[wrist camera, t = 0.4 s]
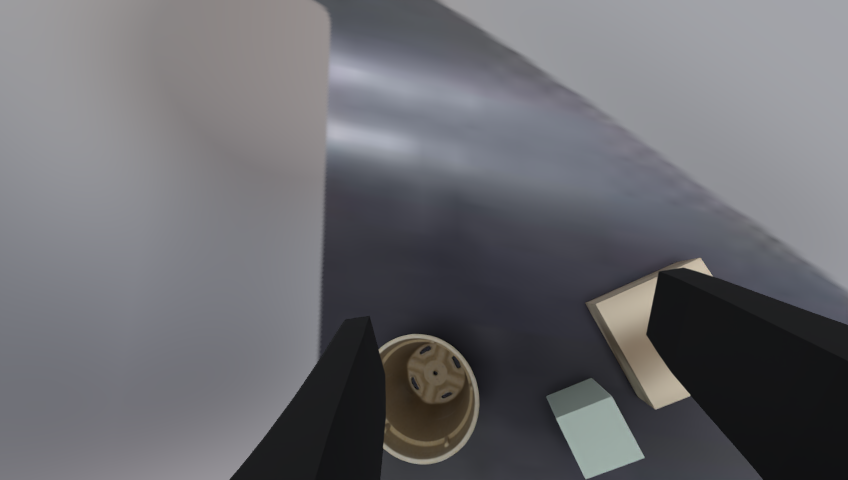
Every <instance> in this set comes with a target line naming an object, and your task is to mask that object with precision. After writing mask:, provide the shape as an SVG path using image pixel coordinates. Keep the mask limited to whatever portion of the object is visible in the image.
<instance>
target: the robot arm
mask: <svg viewBox="0 0 848 480" xmlns="http://www.w3.org/2000/svg"><path fill="white" fill-rule="evenodd" d="M646 335H647V337H648V339H649V340H650V342H651V343H652V345H653V346H654V348H655V349H656V351H657V353H658V354H659V356H660V357H661V358H662V360H663V361H664V363H665V364H666V366H667V367H668V369H669V370H670V371H671V373H672V374H673V375H674V376H675V377H676V379H677V380H678V381H679V382H680V383H681V385H682V386H683V387H684V388H685V389H686V390H687V392H688V393H689V394H690V395H691V396H692V397H693V399H694V400H695V401H696V402H697V403H698V404H699V406H700V407H701V408H702V409H703V410H704V411H705V412H706V414H707V415H708V416H709V417H710V418H711V419H712V420H713V422H714V423H715V424H716V425H717V426H718V427H719V428H720V430H721V431H722V432H723V433H724V434H725V435H726V436H727V438H728V439H729V440H730V441H731V442H732V443H733V445H734V446H735V447H736V448H737V449H738V450H739V451H740V453H741V454H742V455H743V456H744V457H745V458H746V459H747V461H748V462H749V463H750V464H751V465H752V466H753V468H754V469H755V470H756V471H757V473H758V474H759V475H760V476H761V477H762V479H763V480H848V325H846V324H843V323H841V322H838V321H835V320H832V319H829V318H826V317H823V316H820V315H818V314H815V313H812V312H809V311H806V310H804V309H801V308H798V307H795V306H793V305H790V304H787V303H784V302H782V301H779V300H776V299H773V298H771V297H768V296H765V295H763V294H760V293H757V292H754V291H752V290H749V289H746V288H743V287H741V286H738V285H735V284H732V283H730V282H727V281H724V280H721V279H718V278H715V277H713V276H710V275H707V274H704V273H701V272H697V271H694V270H691V269H687V268H684V267H683V268H677V269H670V270H664V271H659V273H658V278H657V283H656V288H655V293H654V298H653V302H652V307H651V312H650V317H649V322H648V327H647V332H646ZM385 421H386V381H385V371H384V368H383V364H382V360H381V357H380V353H379V349H378V346H377V342H376V338H375V335H374V331H373V327H372V324H371V320H370V316H366V317H359V318H353V319H346V320H345V321H344V322H343V323H342V325H341V326H340V328H339V329H338V331H337V332H336V334H335V336H334V337H333V339H332V340H331V342H330V344H329V345H328V347H327V348H326V350H325V352H324V353H323V355H322V356H321V358H320V359H319V361H318V362H317V364H316V365H315V367H314V369H313V370H312V371H311V373H310V374H309V376H308V377H307V379H306V380H305V382H304V384H303V385H302V386H301V388H300V389H299V391H298V392H297V394H296V395H295V397H294V398H293V399H292V401H291V402H290V404H289V405H288V406H287V408H286V409H285V410H284V411H283V413H282V414H281V416H280V417H279V418H278V419H277V421H276V422H275V424H274V425H273V426H272V427H271V429H270V430H269V432H268V433H267V434H266V436H265V437H264V438H263V440H262V441H261V442H260V443H259V444H258V446H257V447H256V448H255V449H254V451H253V452H252V453H251V455H250V456H249V457H248V458H247V459H246V461H245V462H244V463H243V464H242V466H241V467H240V468H239V469H238V470H237V472H236V473H235V474H234V475H233V476H232V477H231V479H230V480H380V475H381V465H382V454H383V443H384V432H385Z"/></svg>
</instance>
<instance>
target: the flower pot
mask: <svg viewBox="0 0 848 480" xmlns="http://www.w3.org/2000/svg"><path fill="white" fill-rule="evenodd" d="M427 346H430V347H431V350H429V351H426V352H425V353H423V354H420V352H421V351H422V350H423V349H424V348H426V347H427ZM379 353H380V357H381V360H382V364H383V368H384V371H385V381H386V421H385V432H384V443H383V448H384V449H385V450H386V451H387V452H389V453H390V454H391V455H393V456H395V457H397V458H399V459H401V460H403V461H406V462H409V463H413V464H432V463H437V462H441V461H443V460H445V459H448V458H449V457H450V456H452V455H454V454H455V453H456V452H458V451H459V450H460V449H461V448H462V447H463V446H464V445H465V444H466V442H467V441H468V439H469V438H470V436H471V434H472V433H473V430H474V428H475V425H476V422H477V419H478V414H479V391H478V386H477V382H476V379H475V376H474V374H473V371H472V369H471V367H470V366H469V364H468V362H467V361H466V360H465V358H464V357H463V356H462V355H461V354H460V353H459V351H458V350H456V349H455V348H454V347H453V346H451V345H450V344H449V343H447V342H445V341H443V340H441V339H439V338H437V337H434V336H430V335H424V334H409V335H404V336H401V337H398V338H395V339H393V340H391V341H389V342H388V343H386V344H385V345H383V346H382V347H381V348H380V349H379ZM453 356H455V357H456V358H457V359H458V361H459V363H460V368H457V367H456V365H455V363H454V360H453V359H452V357H453ZM434 371H436V372H437V373H438V374H437V375H434V374H433V372H434ZM412 377H414V379H415V381H416V383H417V386H418V387H419V389H418V390H417V389H416V388H415V387H414V386H413V384H412ZM448 392H451V393H452V394H451V395H450V396H448V397H446V398H442V395H445V394H446V393H448Z"/></svg>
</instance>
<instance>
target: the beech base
mask: <svg viewBox="0 0 848 480" xmlns="http://www.w3.org/2000/svg"><path fill="white" fill-rule="evenodd" d="M683 267H684V268H687V269H691V270H694V271H697V272H701V273H704V274H707V275H710V276H712V274H711V273H710V271H709V270H708V268H707V267H706V265H705V264H704V262H703V261H702V259H701V258H696V259H691V260H685V261H680V262H676V263H674V264H672V265H670V266H667V267H665V268H663V269H661V270H658V271H656V272H654V273H652V274H649V275H647V276H645V277H643V278H640V279H638V280H636V281H634V282H631V283H629V284H627V285H625V286H622V287H620V288H618V289H616V290H613V291H611V292H609V293H607V294H604V295H602V296H600V297H598V298H595V299H593V300H591V301H589V302H586V303H585V304H586V305H587V307H588V309H589V311H590V312H591V314H592V316H593V318H594V320H595V321H596V323H597V325H598V327H599V329H600V330H601V332H602V334H603V336H604V338H605V339H606V341H607V343H608V345H609V346H610V348H611V350H612V352H613V354H614V355H615V357H616V359H617V361H618V363H619V364H620V366H621V368H622V370H623V372H624V373H625V375H626V377H627V379H628V380H629V382H630V384H631V386H632V388H633V389H634V391H635V393H636V395H637V396H638V397H639V398H640V399H642V400H643V401H644V402H646V403H647V404H648V405H650V406H651V407H652V408H654V409H655V410H656V409H658V408H661V407H664V406H666V405H669V404H671V403H674V402H676V401H679V400H681V399H684V398H686V397H689V396H691V395H690V394H689V393H688V392H687V390H686V389H685V388H684V387H683V386H682V385H681V383H680V382H679V381H678V380H677V379H676V377H675V376H674V375H673V374H672V373H671V371H670V370H669V369H668V367H667V366H666V364H665V363H664V361H663V360H662V358H661V357H660V356H659V354H658V353H657V351H656V349H655V348H654V346H653V345H652V343H651V342H650V340H649V339H648V337H647V335H646V332H647V327H648V322H649V317H650V312H651V307H652V302H653V298H654V293H655V288H656V283H657V278H658V273H659V271H664V270H670V269H677V268H683Z"/></svg>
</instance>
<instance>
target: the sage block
mask: <svg viewBox="0 0 848 480" xmlns="http://www.w3.org/2000/svg"><path fill="white" fill-rule="evenodd" d="M546 398H547V400H548V402H549V404H550V406H551V409H552V411H553V413H554V415H555V418H556V420H557V422H558V424H559V426H560V428H561V430H562V432H563V434H564V436H565V438H566V440H567V442H568V444H569V446H570V448H571V450H572V452H573V455H574V457H575V459H576V461H577V463H578V465H579V467H580V469H581V471H582V473H583V475H584V477H585V479H588V478H591V477H594V476H596V475H599V474H602V473H605V472H607V471H610V470H613V469H616V468H618V467H621V466H624V465H627V464H629V463H632V462H635V461H638V460H640V459H643V458H645V457H644V455H643V454H642V452H641V450H640V448H639V446H638V444H637V442H636V440H635V439H634V437H633V435H632V433H631V431H630V429H629V427H628V425H627V424H626V422H625V420H624V418H623V416H622V414H621V412H620V410H619V409H618V407H617V405H616V403H615V401H614V399H613V397H612V396H611V395H610V394H609V393H608V392H607V391H606V390H605V389H603V388H602V387H601V386H600V385H599V384H598V383H597V382H596V381H595V380H594V379H592V378H590V379H587V380H585V381H582V382H580V383H577V384H575V385H572V386H570V387H567V388H565V389H562V390H560V391H557V392H555V393H553V394H550V395H548V396H546Z"/></svg>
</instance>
